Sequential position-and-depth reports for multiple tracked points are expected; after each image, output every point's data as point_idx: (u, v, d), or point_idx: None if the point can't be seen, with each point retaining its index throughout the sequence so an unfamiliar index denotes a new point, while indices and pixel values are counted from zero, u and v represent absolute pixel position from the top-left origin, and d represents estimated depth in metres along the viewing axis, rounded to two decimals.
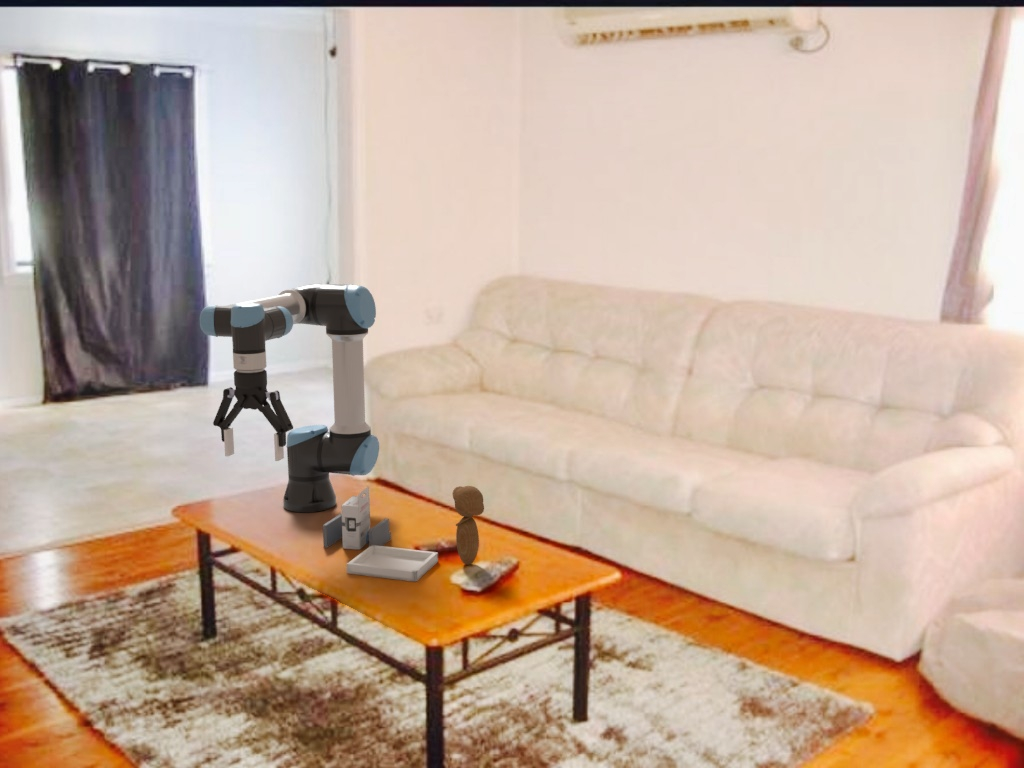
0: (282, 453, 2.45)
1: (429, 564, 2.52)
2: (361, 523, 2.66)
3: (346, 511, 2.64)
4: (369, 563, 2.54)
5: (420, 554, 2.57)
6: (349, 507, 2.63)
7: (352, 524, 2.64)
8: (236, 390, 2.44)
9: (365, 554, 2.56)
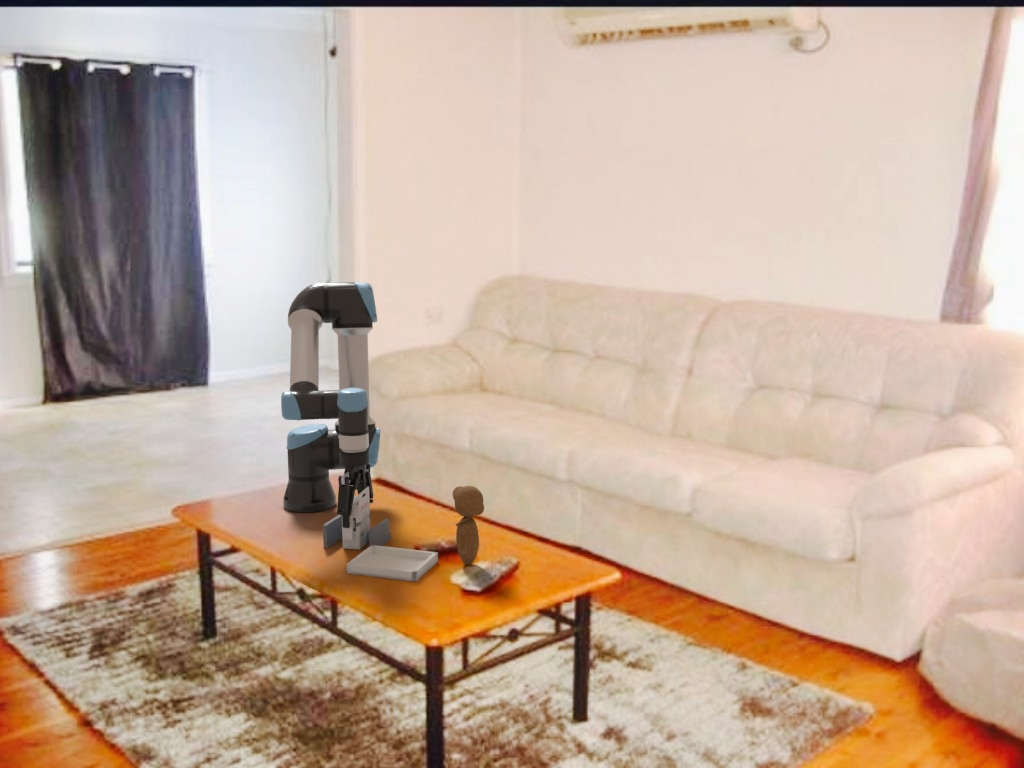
0: (350, 534, 2.64)
1: (429, 564, 2.52)
2: (362, 523, 2.66)
3: None
4: (369, 563, 2.54)
5: (420, 554, 2.57)
6: None
7: None
8: None
9: (365, 554, 2.56)
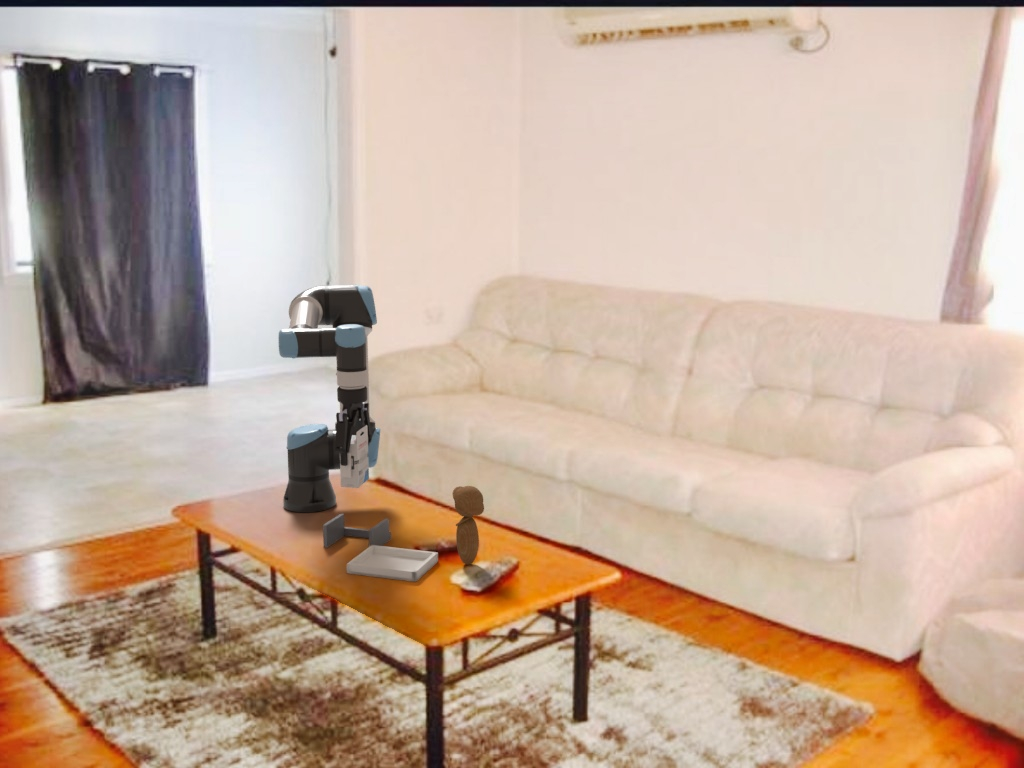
0: (348, 472, 2.61)
1: (429, 564, 2.52)
2: (360, 461, 2.63)
3: None
4: (369, 563, 2.54)
5: (420, 554, 2.57)
6: None
7: None
8: None
9: (365, 554, 2.56)
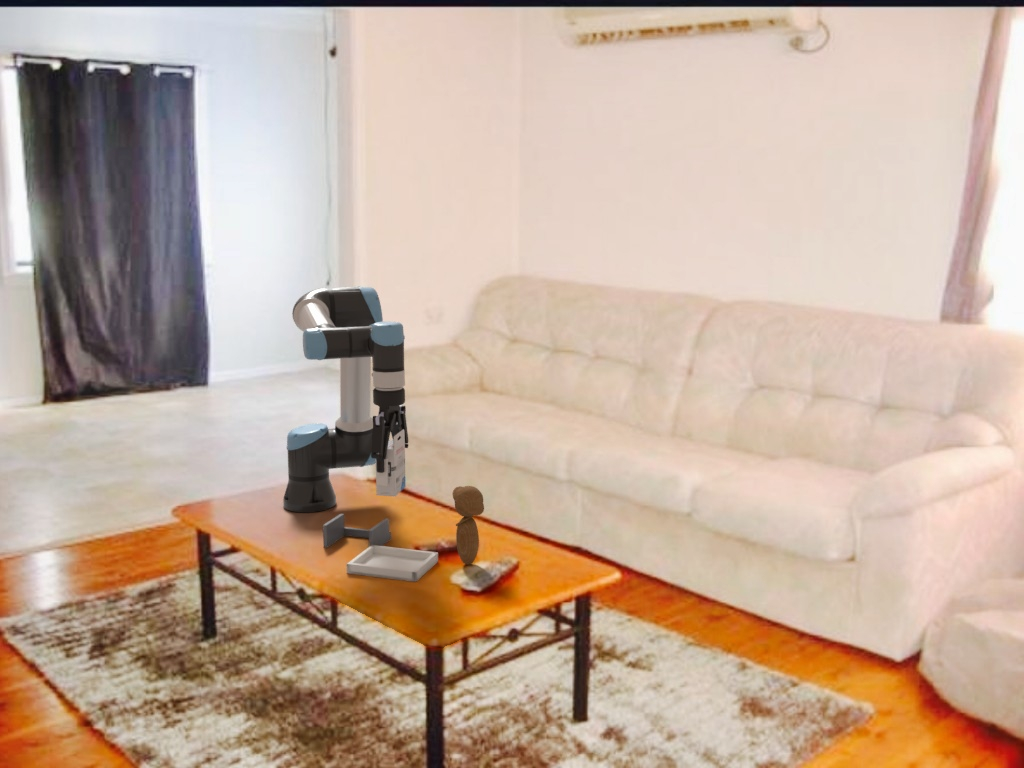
0: (384, 480, 2.44)
1: (429, 564, 2.52)
2: (397, 467, 2.45)
3: None
4: (369, 563, 2.54)
5: (420, 554, 2.57)
6: None
7: None
8: None
9: (365, 554, 2.56)
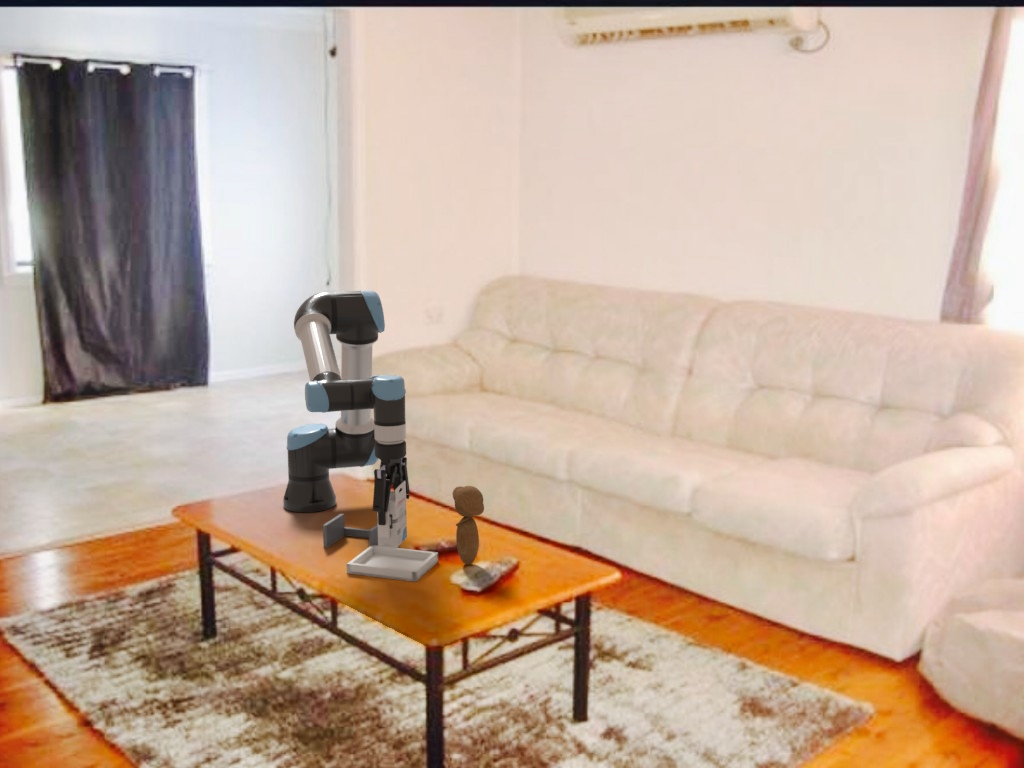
0: (386, 532, 2.46)
1: (429, 564, 2.52)
2: (398, 519, 2.48)
3: None
4: (369, 563, 2.54)
5: (420, 554, 2.57)
6: None
7: None
8: None
9: (365, 554, 2.56)
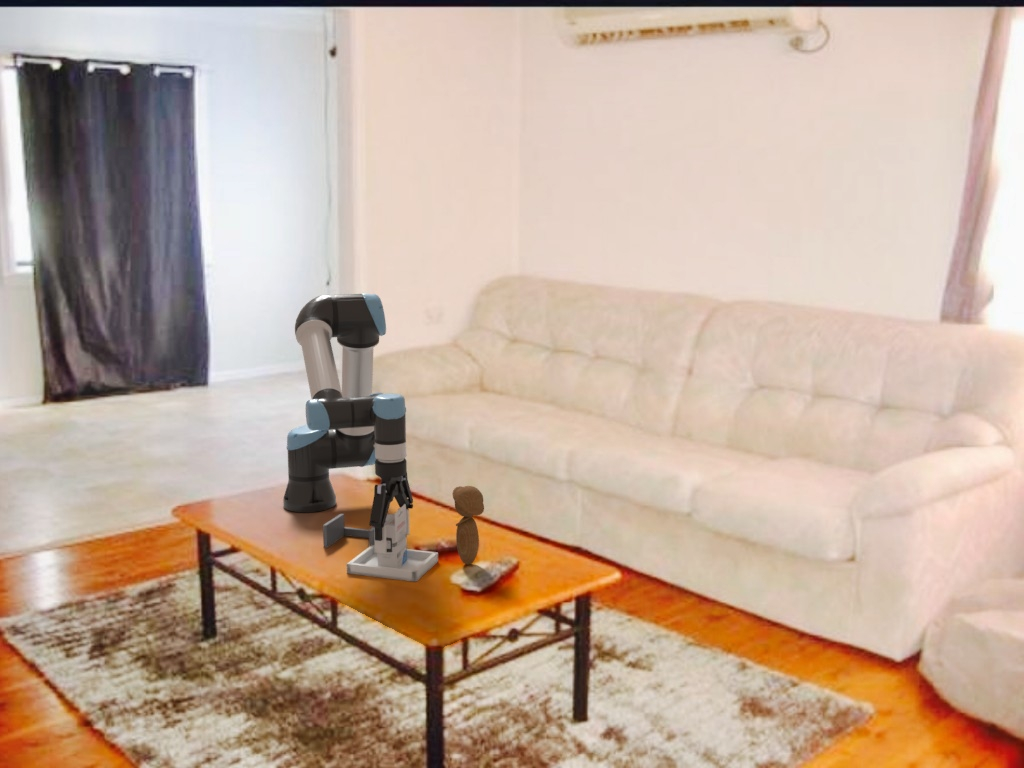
0: (383, 547, 2.45)
1: (429, 564, 2.52)
2: (398, 543, 2.49)
3: None
4: (369, 563, 2.54)
5: (420, 554, 2.57)
6: None
7: (388, 545, 2.47)
8: None
9: (365, 554, 2.56)
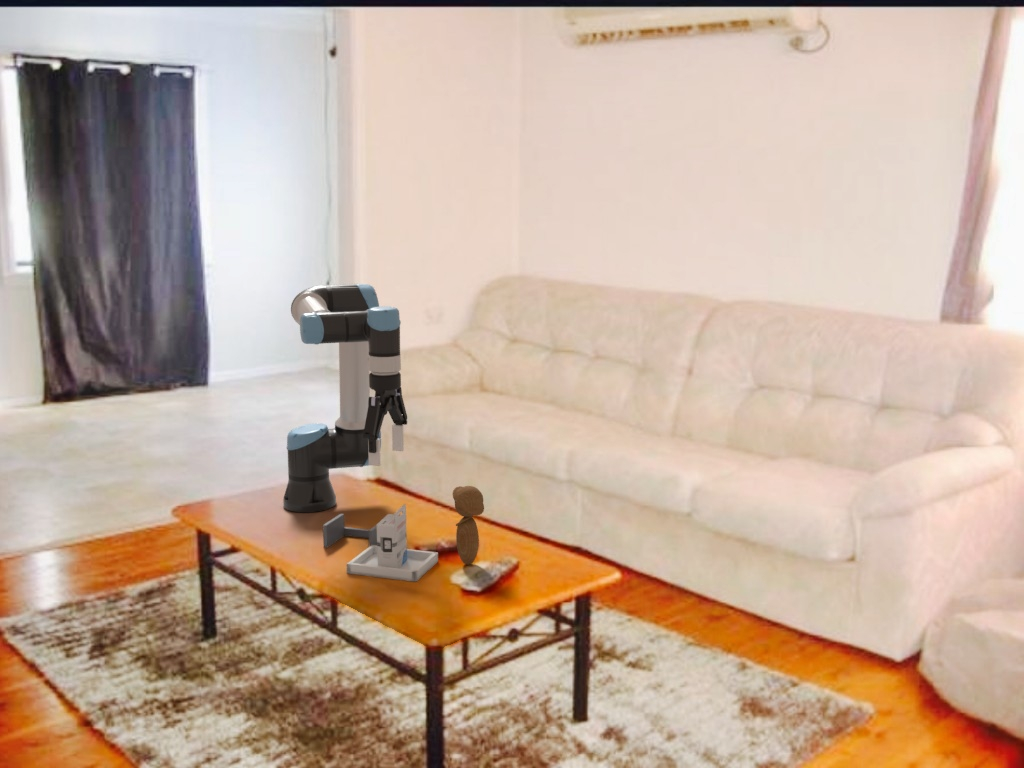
0: (376, 460, 2.44)
1: (429, 564, 2.52)
2: (398, 543, 2.49)
3: (381, 530, 2.47)
4: (369, 563, 2.54)
5: (420, 554, 2.57)
6: (384, 526, 2.47)
7: (388, 545, 2.47)
8: None
9: (365, 554, 2.56)
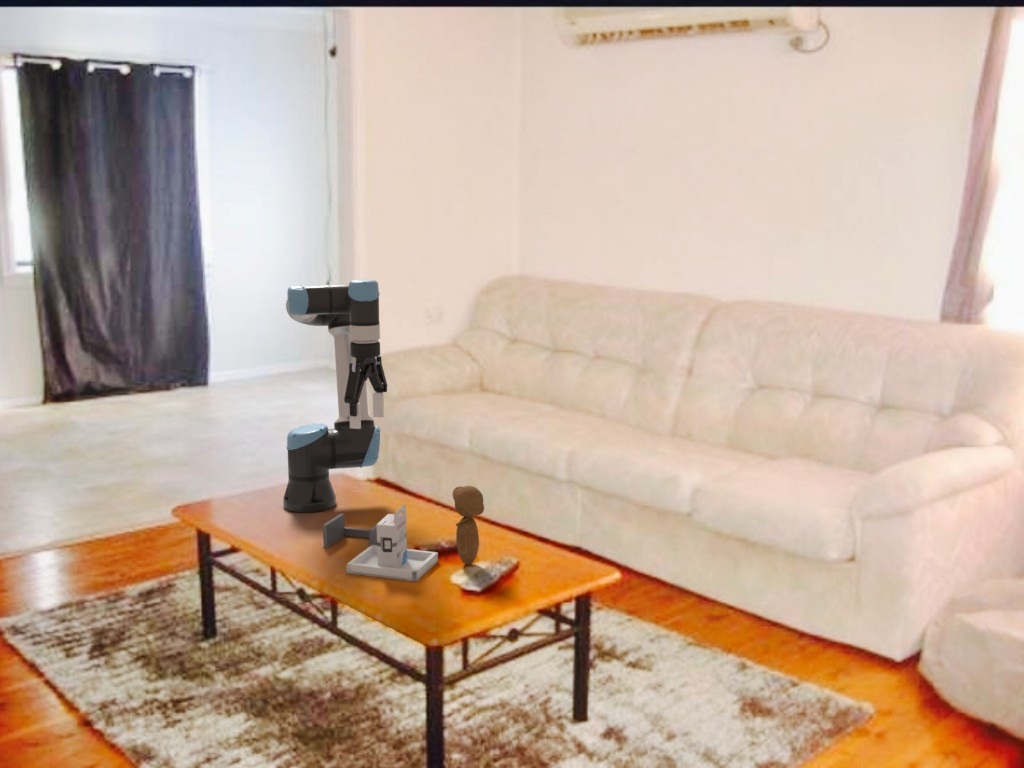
0: (357, 423, 2.59)
1: (429, 564, 2.52)
2: (398, 543, 2.49)
3: (381, 530, 2.47)
4: (369, 563, 2.54)
5: (420, 554, 2.57)
6: (384, 526, 2.47)
7: (388, 545, 2.47)
8: None
9: (365, 554, 2.56)
